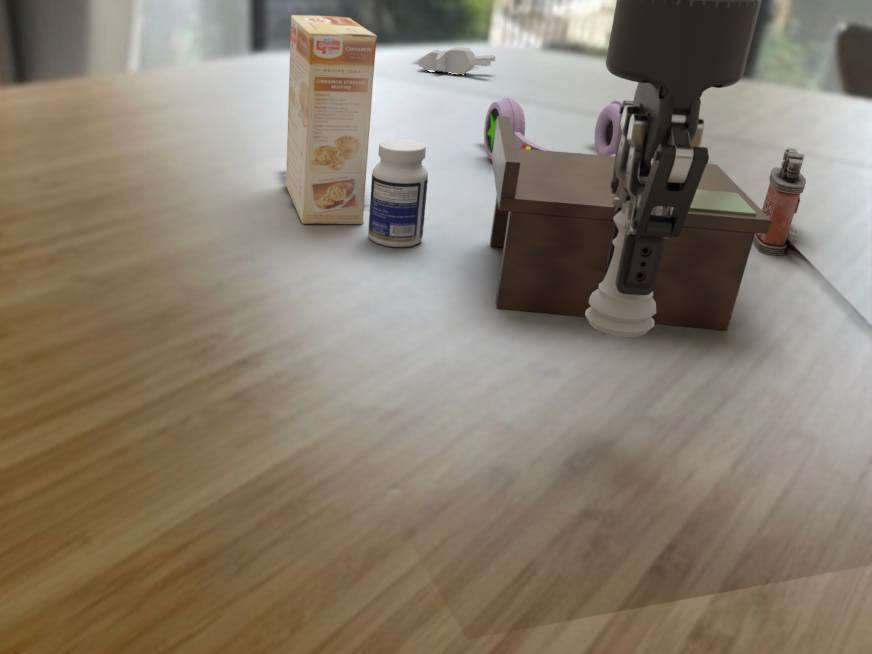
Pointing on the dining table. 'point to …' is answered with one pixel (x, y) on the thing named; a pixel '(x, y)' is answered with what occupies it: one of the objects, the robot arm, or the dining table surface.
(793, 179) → the lighter
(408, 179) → the pill bottle
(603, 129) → the headphones
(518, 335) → the dining table surface
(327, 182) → the coffeecake box
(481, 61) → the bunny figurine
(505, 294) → the brown wooden desk
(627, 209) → the rook chess piece
